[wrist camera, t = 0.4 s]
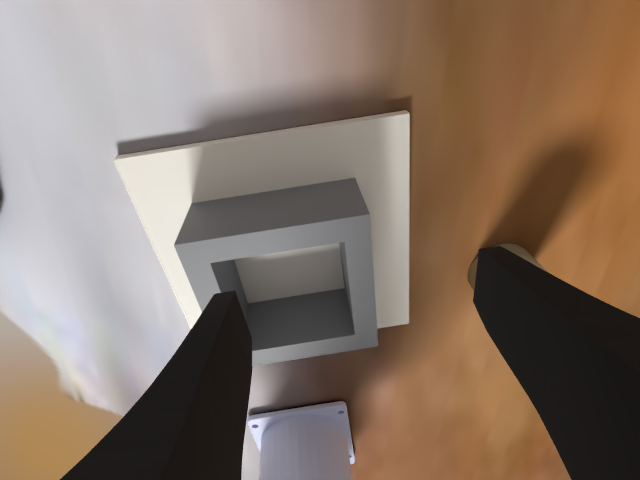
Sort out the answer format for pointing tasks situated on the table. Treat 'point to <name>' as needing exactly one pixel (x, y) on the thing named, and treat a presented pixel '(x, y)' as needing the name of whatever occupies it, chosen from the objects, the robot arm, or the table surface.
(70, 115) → the table surface
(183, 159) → the socket
